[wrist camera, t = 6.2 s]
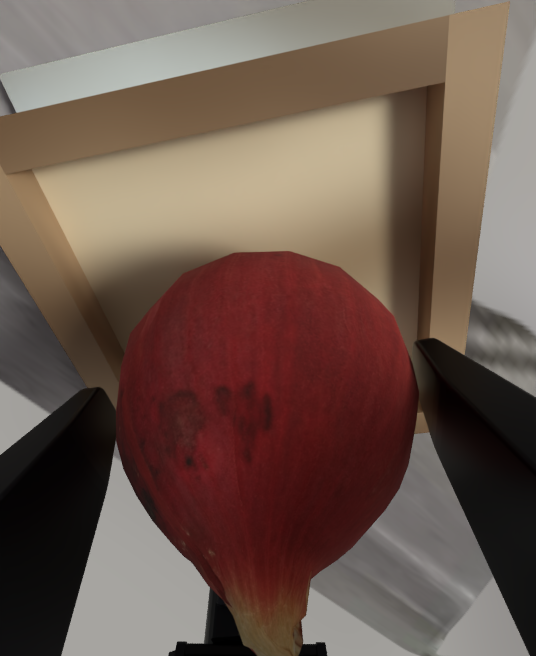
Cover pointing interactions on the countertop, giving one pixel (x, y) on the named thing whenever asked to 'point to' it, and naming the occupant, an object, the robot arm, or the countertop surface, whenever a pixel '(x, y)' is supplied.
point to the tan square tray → (255, 164)
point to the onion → (266, 427)
